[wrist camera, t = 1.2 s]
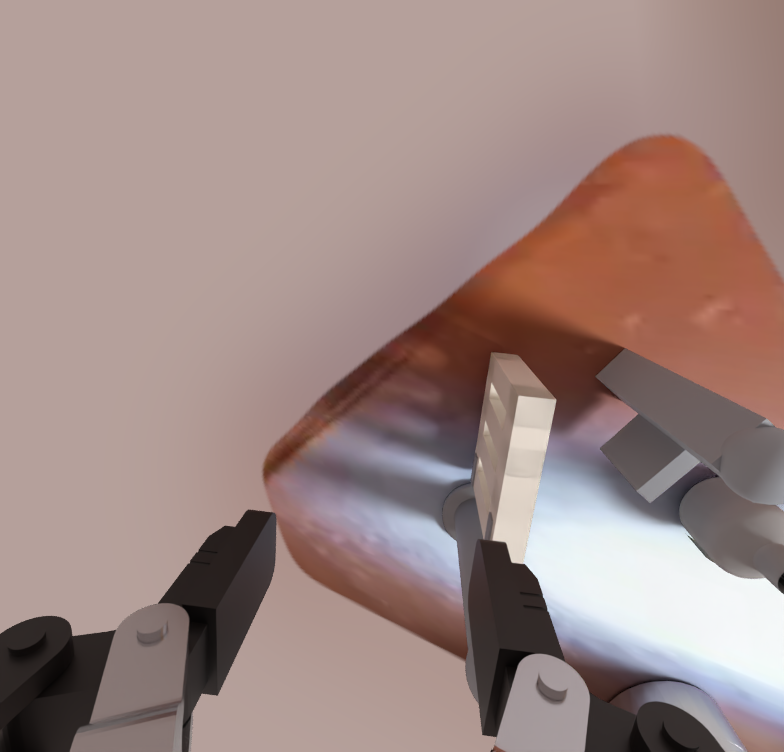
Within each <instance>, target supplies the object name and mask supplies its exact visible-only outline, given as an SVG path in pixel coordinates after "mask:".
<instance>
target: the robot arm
mask: <svg viewBox="0 0 784 752" xmlns="http://www.w3.org/2000/svg"><path fill="white" fill-rule="evenodd" d="M275 553H276V514H275V513H272V512H264V511H256V510H247V511H246V512H245V514H244V515H243V517H242V518H241V520H240V521H239V523H238V524H237V525H236V527H231V526H224V527H222V528H221V529H219V530H218V531H216V532H215V533H213V534H212V535H210V536H209V537H208V538H207V539H206V541H205V542H204V543H203V545H202V546H201V547H200V549H199V551H198V553H196V554H195V555H194V557H193V558H192V559H191V561H190V564H188V565H187V566H186V567H185V569H184V570H183V571H182V572H181V574H180V575H179V576H178V578H177V579H176V580H175V582H174V583H173V584H172V586H171V587H170V588H169V590H168V591H167V592H166V593H165V595H164V596H163V597H162V599H161V600H160V601H159V603H158V604H154V605H150V606H147V607H144V608H142V609H140V610H138V611H136V612H134V613H133V614H131V615H130V616H128V617H127V618H126V619H125V620H124V621H123V622H122V623H121V624H120V625H119V627H118V628H117V630H114V631H108V632H101V633H94V634H86V635H78V636H72V630H71V625H70V624H69V622H68V621H67V620H65V619H63V618H61V617H57V616H43V617H37V618H33V619H29V620H26V621H24V622H21V623H19V624H16V625H14V626H12V627H11V628H9V629H7V630H5V631H4V632H2V633H1V634H0V752H191V738H192V725H193V714H192V712H193V710H194V707H195V706H196V704H197V702H198V700H199V698H200V696H201V694H202V693H203V694H210V695H218V694H219V692H220V690H221V687H222V685H223V683H224V681H225V679H226V677H227V675H228V672H229V670H230V668H231V666H232V664H233V662H234V659H235V657H236V655H237V653H238V651H239V649H240V647H241V645H242V643H243V640H244V638H245V636H246V634H247V632H248V630H249V628H250V626H251V623H252V621H253V619H254V617H255V615H256V612H257V611H258V608H259V606H260V604H261V602H262V600H263V598H264V596H265V594H266V591H267V589H268V587H269V585H270V582H271V580H272V576H273V572H274V566H275ZM468 613H469V622H470V631H471V639H472V648H473V657H474V666H475V674H476V683H477V692H478V700H479V708H480V718H481V726H482V735H487V736H493V737H497V738H496V742H495V745H494V748H493V750H491V752H748V751H747V750H746V748H745V747H744V745H743V743H742V742H741V740H740V739H739V737H738V736H737V734H736V732H735V731H734V729H733V728H732V726H731V725H730V723H729V722H728V720H727V718H726V717H725V715H724V714H723V712H722V711H721V709H720V708H719V706H718V705H717V703H716V702H715V701H714V699H712V698H711V697H710V696H709V695H708V694H707V693H705V692H704V691H702V690H700V689H698V688H696V687H694V686H691V685H688V684H684V683H680V682H672V681H654V682H649V683H644V684H640V685H637V686H635V687H632V688H629V689H627V690H626V691H624V692H622V693H620V694H619V695H617V696H616V697H615V698H614V699H613V700H612V701H611V702H609V703H607V702H605V701H603V700H601V699H599V698H597V697H596V696H594V695H593V694H591V693H590V692H589V691H588V688H587V686H586V684H585V682H584V680H583V679H582V677H581V676H580V675H579V674H578V673H577V672H576V671H575V670H574V669H573V668H572V667H571V666H570V665H568V664H567V663H566V662H565V659H564V656H563V653H562V650H561V647H560V644H559V642H558V639H557V636H556V633H555V630H554V627H553V624H552V621H551V618H550V615H549V612H548V611H547V606H546V603H545V600H544V598H543V594H542V591H541V588H540V585H539V582H538V579H537V578H536V577H535V575H534V574H533V573H532V572H531V571H530V570H529V568H528V567H527V566H526V565H525V564H519V563H512V562H511V558H510V555H509V551H508V547H507V544H506V542H500V541H492V540H484V539H478V540H477V542H476V547H475V553H474V559H473V565H472V571H471V577H470V583H469V591H468Z"/></svg>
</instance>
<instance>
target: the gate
mask: <svg viewBox="0 0 784 752" xmlns="http://www.w3.org/2000/svg"><path fill="white" fill-rule="evenodd" d="M555 405H556V399H555V398H554V396H553V395H552V394H551V393H550V392H549V391H548V389H547V388H546V387H545V386H544V385H543V384H542V382H541V381H540V380H539V379H538V378H537V377H536V375H535V374H534V373H533V372H532V371H531V370H530V369H529V367H528V366H527V365H526V364H525V363H524V362H523V360H522V359H521V358H520V357H519V356H518V355H515V354H506V353H496V352H491V356H490V363H489V369H488V375H487V381H486V388H485V394H484V400H483V407H482V413H481V419H480V426H479V432H478V438H477V444H476V451H475V455H474V462H473V468H472V474H471V486H472V487H473V488H474V493H475V499H476V504H477V509H478V514H479V519H480V524H481V529H482V534H483V539H484V540H492V541H500V542H506V544H507V547H508V551H509V555H510V558H511V562H512V563H519V564H523V561H524V556H525V551H526V546H527V541H528V537H529V532H530V527H531V522H532V517H533V512H534V507H535V503H536V498H537V493H538V488H539V483H540V478H541V473H542V468H543V464H544V459H545V454H546V449H547V444H548V439H549V434H550V429H551V425H552V420H553V415H554V410H555Z"/></svg>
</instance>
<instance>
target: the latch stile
mask: <svg viewBox="0 0 784 752" xmlns="http://www.w3.org/2000/svg"><path fill="white" fill-rule="evenodd" d="M595 377H596V378H597V379H598V380H600V381H601V382H602V383H603V384H604V385H605V386H606V387H607V388H608V389H609V390H611V391H612V392H613V393H614V394H615V395H616V396H617V397H618V398H619V399H621V400H622V401H623V402H624V403H625V404H627V405H628V406H629V407H631V408H632V409H633V410H634V411H636V412H637V413H638V415H637V416H636V417H635V418H634V419H632V420H631V421H630V422H629V423H628V424H627V425H626V426H625V427H623V428H622V429H621V430H620V431H619V432H618V433H617V434H616V435H615V436H613V437H612V438H611V439H610V440H609V441H608V442H607V443H606V444H604V445H603V446H602V447H601V448H600V450H601V451H602V452H603V453H604V454H605V456H606V457H607V458H608V459H609V460H610V461H611V462H612V464H613V465H614V466H615V467H616V468H617V469H618V471H619V472H620V473H621V474H622V475H623V476H624V477H625V479H626V480H627V481H628V482H629V483H630V484H631V485H632V487H633V488H634V489H635V490H636V491H637V492H638V493H639V494H640V495H641V496H643V497H644V498H645V499H646V500H647V501H648V502H649V503H651V502H652V501H654V500H655V499H656V498H657V497H659V496H660V495H661V494H662V493H663V492H665V491H666V490H667V489H668V488H669V487H671V486H672V485H673V484H674V483H675V482H677V481H678V480H679V479H680V478H682V477H683V476H684V475H685V474H686V473H688V472H689V471H690V470H691V469H692V468H694V467H695V466H696V465H697V464H699V463H700V462H702V463H703V464H704V465H705V466H707V467H708V468H709V469H711V470H712V471H713V472H714V473H716V474H717V475H718V476H720V477H721V478H722V479H723V481H724V482H725V484H726V485H727V486H728V487H729V488H730V489H731V490H732V491H734V492H735V493H736V494H738V495H739V496H741V497H743V498H745V499H747V500H750V501H752V502H753V503H755V502H756V503H760V504H767V505H779V504H784V430H783V429H780V428H776V427H775V426H774V425H773V424H772V423H771V422H770V421H769V420H768V419H766V418H764V417H762V416H760V415H758V414H756V413H754V412H752V411H750V410H748V409H746V408H744V407H742V406H740V405H738V404H736V403H734V402H732V401H730V400H728V399H726V398H724V397H722V396H720V395H718V394H716V393H714V392H712V391H710V390H708V389H706V388H704V387H702V386H700V385H698V384H696V383H694V382H692V381H690V380H688V379H686V378H684V377H682V376H680V375H678V374H676V373H674V372H672V371H670V370H668V369H666V368H664V367H662V366H660V365H658V364H656V363H654V362H652V361H650V360H648V359H646V358H644V357H642V356H640V355H638V354H636V353H634V352H632V351H630V350H628V349H626V348H625V349H624V350H623V351H622V352H620V353H619V354H618V355H617V356H616V357H615V358H614V359H613V360H612V361H611V362H610V363H609V364H608V365H607V366H606V367H605V368H604V369H603V370H602V371H600V372H599V373H598V374H597V375H596V376H595Z"/></svg>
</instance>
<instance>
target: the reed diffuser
mask: <svg viewBox="0 0 784 752" xmlns="http://www.w3.org/2000/svg"><path fill="white" fill-rule="evenodd" d="M679 516H680V520H681V523H682V524H683V526H684V528H685V529H686V530H687V531H688V533H689V534H690V535H691V536H692V537H693V539H694V540H693V539H692V538H690V537H689V536H688V535H687V536H688V537H689V538H690V539H691V540H692V541H693V543H694V544H695V545H696V546H697V547H698V549H699V550H700V551H701V552H702V553H703V554H704V556H705V557H707V558H708V559H709V560H711V561H712V562H714V563H716V564H717V565H718V566H719V567H720V568H722V569H723V570H725V571H726V572H728V573H730V574H732V575H735V576H738V577H741V578H748V579H758V578H767V579H768V580H769V581H770V582H771V583H772V584H773V585H774V586H775V587H776V588H777V589H778V590H779V591H781V592H782V593H783V594H784V511H783V510H781V509H780V508H779V507H777V506H776V505H767V504H760V503H756V502H755V503H753V502H752V501H750V500H747V499H745V498H743V497H741V496H739V495H738V494H736V493H735V492H734V491H732V490H731V489H730V488H729V487H728V486H727V485H726V484H725V482H724V481H723V479H722V478H721V477H716V478H710V479H707V480H704V481H702V482H700V483H698V484H696V485H695V486H693V487H692V488H691V489H690V490H689V491H688V492H687V493H686V494H685V496H684V497H683V499H682V501H681V504H680V508H679Z"/></svg>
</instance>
